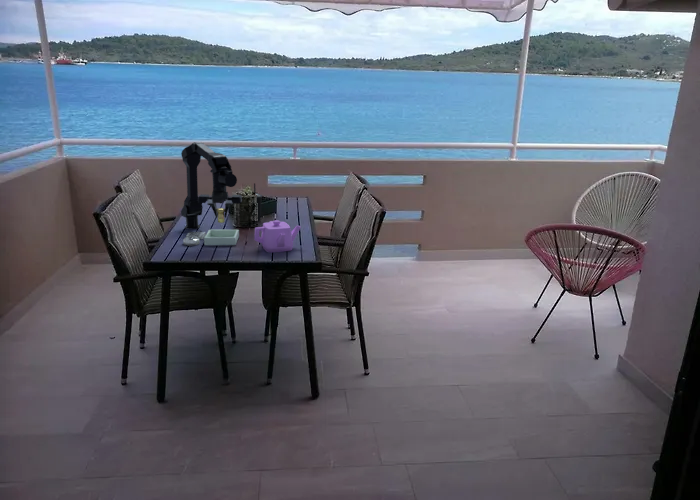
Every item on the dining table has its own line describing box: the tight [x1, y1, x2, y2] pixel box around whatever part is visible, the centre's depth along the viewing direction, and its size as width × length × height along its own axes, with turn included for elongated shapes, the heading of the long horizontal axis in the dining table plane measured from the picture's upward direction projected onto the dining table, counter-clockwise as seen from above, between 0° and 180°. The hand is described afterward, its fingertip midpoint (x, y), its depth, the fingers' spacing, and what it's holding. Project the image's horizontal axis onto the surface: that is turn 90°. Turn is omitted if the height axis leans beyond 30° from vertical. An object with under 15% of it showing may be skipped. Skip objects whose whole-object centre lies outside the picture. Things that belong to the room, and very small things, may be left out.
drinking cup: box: [253, 183, 263, 222], centre depth 264 cm, size 8×8×20 cm
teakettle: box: [253, 219, 301, 253], centre depth 221 cm, size 17×17×12 cm
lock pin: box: [216, 207, 226, 224], centre depth 226 cm, size 4×4×6 cm
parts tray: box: [203, 229, 240, 246], centre depth 229 cm, size 14×14×4 cm
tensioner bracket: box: [182, 231, 207, 247], centre depth 229 cm, size 17×8×3 cm, turn 5°
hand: (221, 217), depth 227 cm, fingers closed on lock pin, 4 cm apart
